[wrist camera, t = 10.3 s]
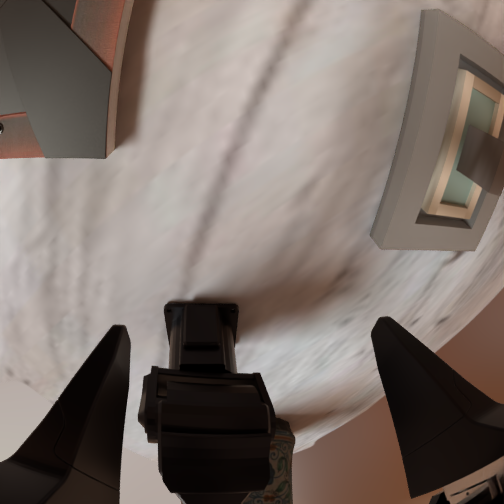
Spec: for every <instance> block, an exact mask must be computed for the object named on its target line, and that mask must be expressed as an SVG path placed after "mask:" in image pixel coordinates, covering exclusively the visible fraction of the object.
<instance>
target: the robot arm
mask: <svg viewBox="0 0 504 504" xmlns="http://www.w3.org/2000/svg"><path fill="white" fill-rule="evenodd" d="M170 309H171V310H170ZM231 309H234V310H231ZM238 313H239V309H238V306H237V305H236V304H166V305H165V306H164V315H165V322H166V328H167V335H168V340H169V346H170V352H169V369H167V368H158V366H152V368H151V373H150V374H148V375H146V376H144V378H143V389H142V397H141V402H140V407H139V412H138V422H139V423H140V424H141V425H142V426H143V427H144V428H145V433H147V439H148V443H158V467H159V472H160V474H161V476H162V479H163V482H164V483H165V485H166V486H167V488H168V490H169V491H170V492H171V493H175V494H176V495H177V496H178V498H179V499H180V500H181V504H243V502H244V501H245V500H246V498H247V497H248V496H249V495H250V493H251V492H258V491H264V490H265V488H266V486H267V484H268V482H269V480H270V464H269V455H270V444H271V443H272V442H273V440H274V437H275V432H276V417H275V411H274V408H273V405H272V402H271V400H270V397H269V395H268V392H267V390H266V387H265V384H264V382H263V379H262V377H261V374H260V373H253V374H248V373H237V366H236V358H235V349H234V348H235V340H236V331H237V322H238ZM371 338H372V343H373V347H374V352H375V357H376V362H377V366H378V371H379V374H380V378H381V381H382V384H383V387H384V391H385V394H386V398H387V401H388V405H389V408H390V412H391V415H392V419H393V422H394V427H395V430H396V434H397V438H398V442H399V446H400V450H401V455H402V460H403V464H404V468H405V473H406V478H407V482H408V488H409V493H410V497H411V499H412V498H415V497H418V496H421V495H423V494H426V493H429V492H431V491H434V490H436V489H439V488H441V487H443V491H441V492H439V493H438V494H436V495H434V496H432V498H431V500H430V503H429V504H504V404H500V403H497V402H495V401H494V400H492V399H491V398H489V397H488V396H486V395H485V394H484V393H483V392H481V391H480V390H478V389H477V388H476V387H474V386H473V385H472V384H471V383H469V382H468V381H466V380H465V379H464V378H463V377H462V376H461V375H459V374H458V373H457V372H456V371H455V370H452V368H451V367H450V366H449V365H448V364H447V363H445V362H444V361H443V360H442V359H440V358H439V357H438V356H437V355H436V354H435V353H433V352H432V351H431V350H430V349H429V348H428V347H426V346H425V345H424V344H423V343H422V342H420V341H419V340H418V339H417V338H415V337H414V336H413V335H412V334H411V333H409V332H408V331H407V330H406V329H405V328H403V327H402V326H401V325H400V324H398V323H397V322H396V321H395V320H393V319H392V318H391V317H389V316H385V317H380V318H379V319H378V320H377V322H376V324H375V326H374V327H373V329H372V331H371ZM130 350H131V342H130V338H129V335H128V332H127V328H126V326H125V325H116V324H115V325H113V326H112V327H111V328H110V329H109V331H108V332H107V333H106V334H105V336H104V337H103V338H102V340H101V341H100V342H99V343H98V345H97V346H96V347H95V349H94V350H93V351H92V353H91V354H90V355H89V357H88V358H87V359H86V361H85V362H84V363H83V365H82V366H81V367H80V369H79V370H78V371H77V373H76V374H75V376H74V377H73V378H72V380H71V381H70V382H69V384H68V385H67V387H66V388H65V389H64V391H63V392H62V394H61V395H60V397H59V398H58V400H57V401H56V402H55V404H54V405H53V406H52V408H51V409H50V411H49V412H48V414H47V415H46V416H45V418H44V419H43V420H42V421H41V423H40V424H39V425H38V426H37V427H36V429H35V430H34V431H33V432H32V433H31V435H30V436H29V437H28V438H27V439H26V441H25V442H24V443H23V444H22V445H21V446H20V448H19V449H18V450H17V451H16V452H15V453H14V454H13V455H12V456H11V457H9V458H8V459H6V460H4V461H2V462H0V504H119V499H120V491H119V490H120V472H121V471H120V470H121V456H122V444H123V433H124V424H125V415H126V407H127V399H128V391H129V374H130Z"/></svg>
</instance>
